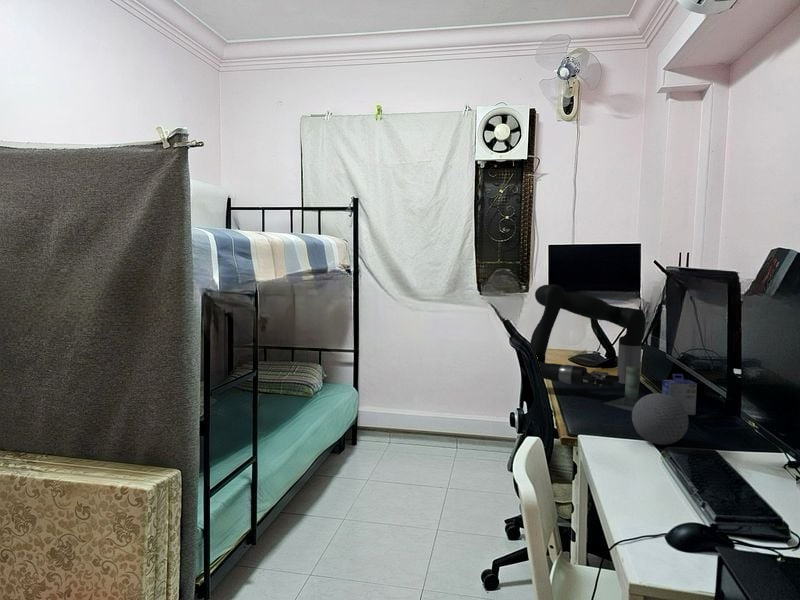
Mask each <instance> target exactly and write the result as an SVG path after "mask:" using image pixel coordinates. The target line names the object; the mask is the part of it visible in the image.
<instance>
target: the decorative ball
mask: <svg viewBox="0 0 800 600" xmlns="http://www.w3.org/2000/svg"><path fill="white" fill-rule="evenodd" d="M631 420H632V425H633V426H634V427H633V428H634V429H635V431H636V433H637V434H638V435H639V436H640V437H641V438H643V439H644V440H645V441H647V442H649V443H651V442H652V444H655V445H660V446H665V445H666V446H667V445H671V444H675V443H676V442H678V441H680V440H681V439H682V438H683V437H684V436H685V434H686V433H687V431H688V427H689V415H687V412H686V410H685V408H684V407H683V405H682V404H681V403H680V402H679V401H678V400H676V399H675V398H673V397H671V396H669V395H666V394H662V392H661V393H658V392H655V393H649V394H647V395H644V396H642V397H640V398H639V399H638V402H637V403H636V404H635V406H634V408H633V411H631Z"/></svg>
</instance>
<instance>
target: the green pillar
mask: <svg viewBox="0 0 800 600" xmlns="http://www.w3.org/2000/svg"><path fill="white" fill-rule="evenodd" d="M639 378H640V379H641V377H640V368H639V367H634V366H627V367H626V382H625V384H624V385H625V387H624V388H625V389H624V397H625V401H624V404H625V405H627V406H632V407H634V406H635V404H636V403H637V402H638V400H639V394H640V393H639V391H640V383H639Z"/></svg>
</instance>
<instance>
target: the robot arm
mask: <svg viewBox="0 0 800 600" xmlns="http://www.w3.org/2000/svg"><path fill="white" fill-rule="evenodd" d="M534 297H535V300H536V302H537V303H538V304H539V305H541V306H542V307H543V306H544V311H543V314H542V316H541V318H540V320H539V322H537V323H538V324H536V326H535V328H534V330H533V332H532V335H531V339H530V343H529V345H530V344H531V346H532V347H533V349H534V351H535V353H536V355H537V357H538V362H539V365H540V369H541V373H542V376H543V380H548V381H553V382H557V383H558V382H559V383H563V384H568V385H574V386H579V387H584V386H585V385H589V386H594V387H595V386H596V387H602V386H605V387H613V386H614V382H615V383H619V384H622V385H625V382H626V367H627V366H634V367H639V368H640V378H639V384H640V383H641V373H642V346H643V344H642V343H643V341H644V339H645V338H644V337H645V332H646V323H647V321H646V319H647V318H646V314H645V312H644V311H643V310H642V309H638V308H632V307H624V306H618V305H617V306H616V305H612V304H609V303H608V302H606V301H605V300H603V299H601V298H598V297H593V296H591V295H587V294H581V293H574V292H565V290H564V288H563V287H562V286H561V285H558V284H544V285H543V284H542V285H540V286H538V288H536V290H535V293H534ZM561 310H564V311H567V312H570V313H572V314H575V315H578V316H581V317H584V318H588V319H592V320H596V321H606V322H607V323H608V322H609V323H611V324H614V325H616V326H619V327H621V328H623V329H625V331H626V332H625V335H622V336H620V337H619V338H618V350H617V351H618V353H617V373H616V375H613V374H610V373H609V372H604V371H597V370H592V371H591V372H588V368H587V367H585V366H581V365H572V364H561V363H552V362H551V363H550V362H546V353H547V350H548V346H549V340H550V337H551V335H552V331H553V328H554V326H555V322H556V320H557V318H558V315H559V313H560V311H561ZM521 372H522V374H523V375H524V376H526V373H525V371H524V370H523V368H522V367H521Z"/></svg>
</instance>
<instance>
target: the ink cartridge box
mask: <svg viewBox="0 0 800 600" xmlns="http://www.w3.org/2000/svg"><path fill="white" fill-rule="evenodd" d="M678 376H679V377H678ZM697 387H698V383H697V382H695V381H692V380H690V379H685V378H684V374H683V373H672V379H663V380H662V383H661V388H662V389H661V394H666V395H669V396H671V397H673V398H675V399H676V400H678V401H679V402H680V403H681V404H682V405H683V407H684V408H685V410H686V412H687V415H688V416H689V415H690V416H696V409H697V408H696V407H697V406H696V405H697V390H698V388H697Z"/></svg>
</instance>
